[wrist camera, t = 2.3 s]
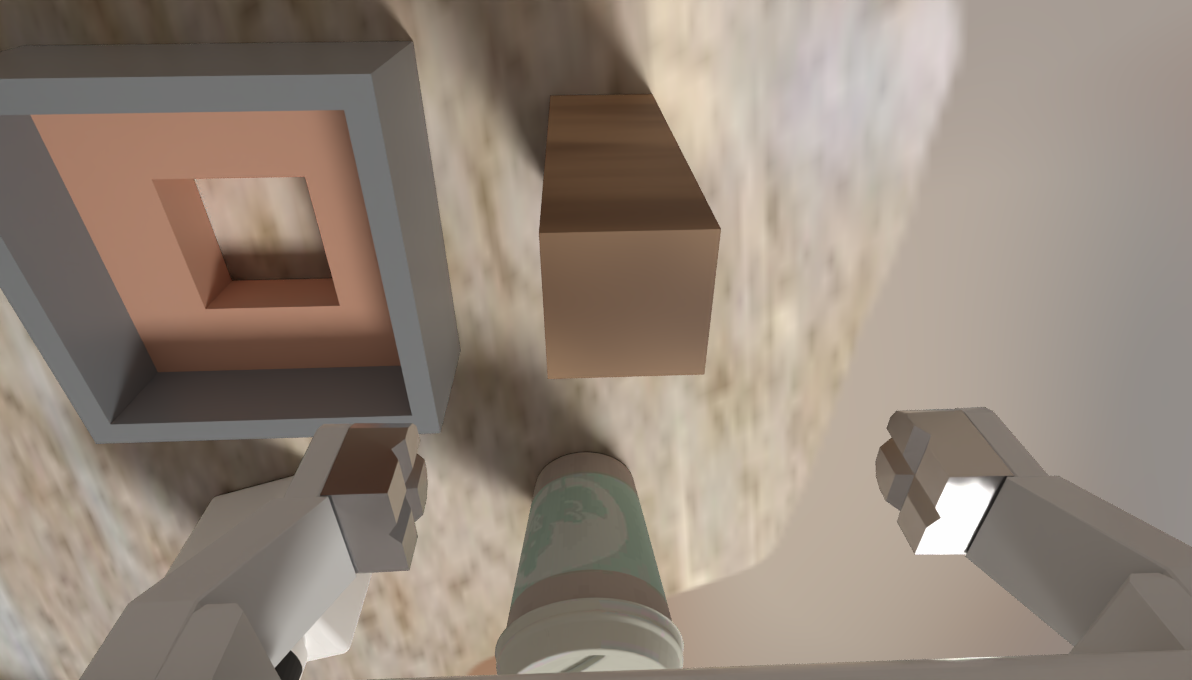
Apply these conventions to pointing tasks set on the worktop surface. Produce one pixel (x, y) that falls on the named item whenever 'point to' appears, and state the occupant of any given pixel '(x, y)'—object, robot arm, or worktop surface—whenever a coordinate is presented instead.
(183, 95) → the box
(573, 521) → the coffee cup
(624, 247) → the peg
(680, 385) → the worktop surface
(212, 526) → the medicine bottle
